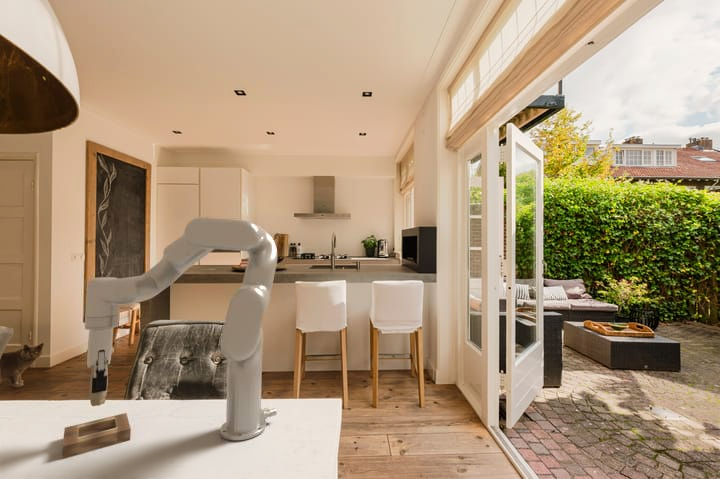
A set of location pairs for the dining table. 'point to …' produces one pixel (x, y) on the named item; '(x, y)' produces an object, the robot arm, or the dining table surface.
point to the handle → (99, 396)
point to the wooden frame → (95, 435)
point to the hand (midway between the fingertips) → (98, 388)
